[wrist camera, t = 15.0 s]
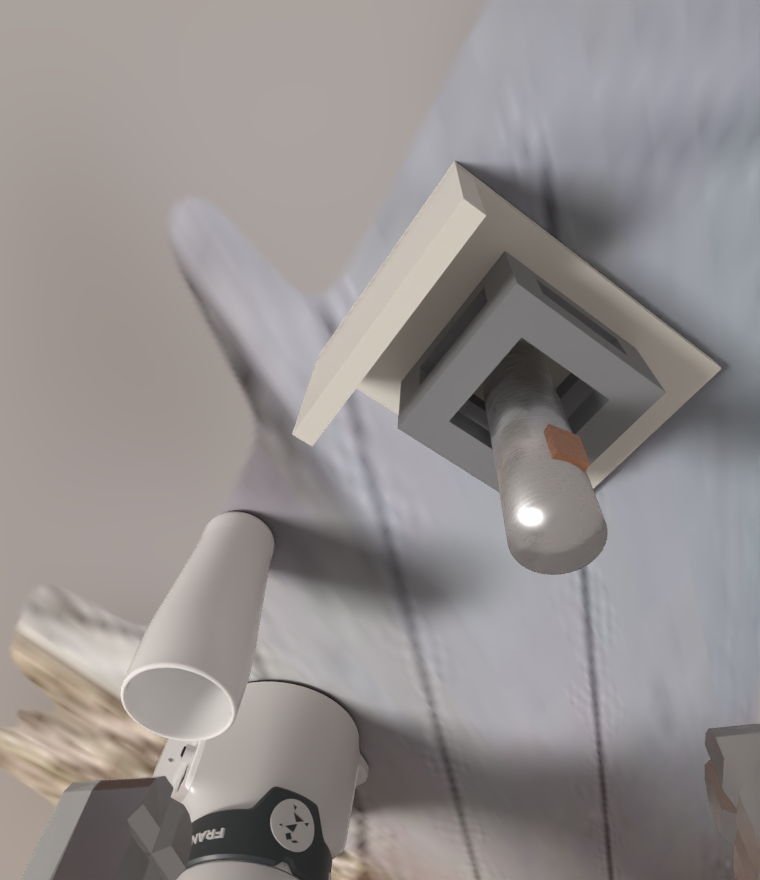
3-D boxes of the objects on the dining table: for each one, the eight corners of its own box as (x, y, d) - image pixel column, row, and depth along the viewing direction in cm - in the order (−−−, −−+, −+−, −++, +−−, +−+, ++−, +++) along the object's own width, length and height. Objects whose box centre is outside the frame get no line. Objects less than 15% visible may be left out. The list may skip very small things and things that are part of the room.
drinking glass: (221, 484, 48) (148, 645, 36) (302, 529, 50) (260, 699, 37) (180, 543, 52) (99, 711, 39) (258, 584, 53) (204, 758, 40)
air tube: (526, 410, 43) (573, 586, 29) (469, 386, 42) (490, 554, 28) (561, 352, 41) (631, 513, 27) (502, 326, 40) (542, 477, 26)
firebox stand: (558, 508, 48) (587, 611, 39) (318, 354, 43) (292, 434, 34) (714, 360, 42) (789, 444, 33) (454, 160, 37) (463, 198, 28)
